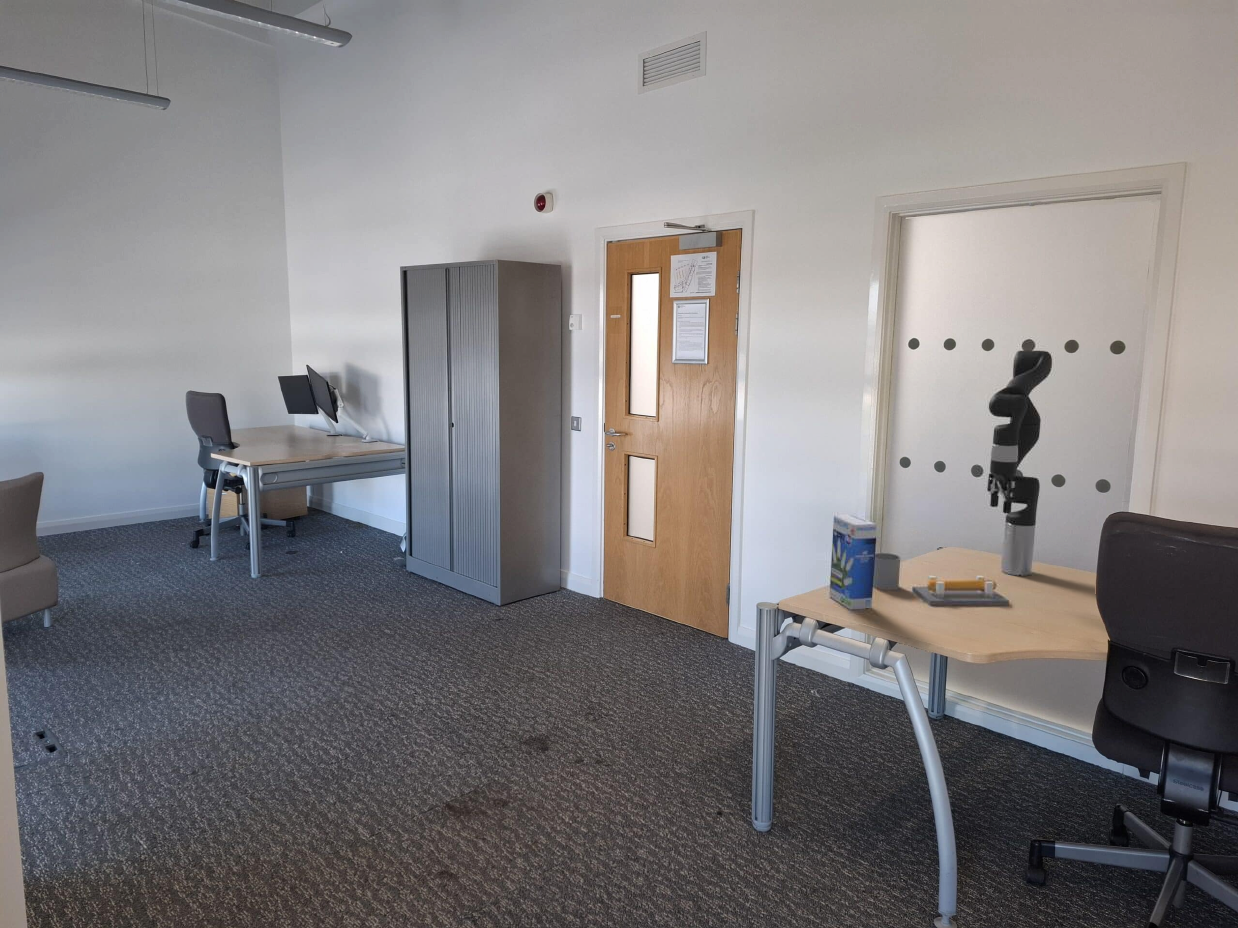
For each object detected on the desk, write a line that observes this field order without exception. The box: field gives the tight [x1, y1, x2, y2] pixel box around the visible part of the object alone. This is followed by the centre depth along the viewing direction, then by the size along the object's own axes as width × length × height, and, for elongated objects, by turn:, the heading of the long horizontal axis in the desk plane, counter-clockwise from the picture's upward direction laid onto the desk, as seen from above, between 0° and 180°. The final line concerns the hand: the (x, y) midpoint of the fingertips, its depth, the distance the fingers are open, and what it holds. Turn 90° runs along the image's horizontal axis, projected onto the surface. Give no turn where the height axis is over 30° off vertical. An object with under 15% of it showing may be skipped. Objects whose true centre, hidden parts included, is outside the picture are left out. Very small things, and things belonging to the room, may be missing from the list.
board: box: [911, 575, 1010, 607], centre depth 256 cm, size 14×24×6 cm, turn 92°
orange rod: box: [926, 579, 997, 591], centre depth 256 cm, size 21×3×3 cm, turn 92°
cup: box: [873, 552, 901, 592], centre depth 267 cm, size 8×8×10 cm
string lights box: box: [829, 514, 878, 611], centre depth 249 cm, size 13×8×26 cm, turn 14°
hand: (1000, 509), depth 260 cm, fingers open, 8 cm apart
